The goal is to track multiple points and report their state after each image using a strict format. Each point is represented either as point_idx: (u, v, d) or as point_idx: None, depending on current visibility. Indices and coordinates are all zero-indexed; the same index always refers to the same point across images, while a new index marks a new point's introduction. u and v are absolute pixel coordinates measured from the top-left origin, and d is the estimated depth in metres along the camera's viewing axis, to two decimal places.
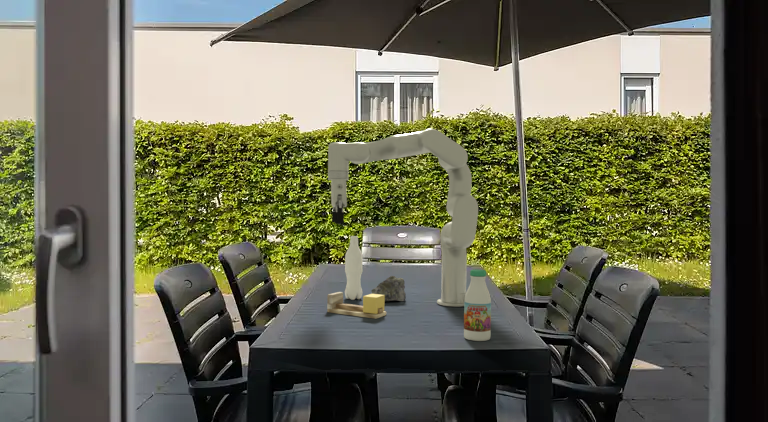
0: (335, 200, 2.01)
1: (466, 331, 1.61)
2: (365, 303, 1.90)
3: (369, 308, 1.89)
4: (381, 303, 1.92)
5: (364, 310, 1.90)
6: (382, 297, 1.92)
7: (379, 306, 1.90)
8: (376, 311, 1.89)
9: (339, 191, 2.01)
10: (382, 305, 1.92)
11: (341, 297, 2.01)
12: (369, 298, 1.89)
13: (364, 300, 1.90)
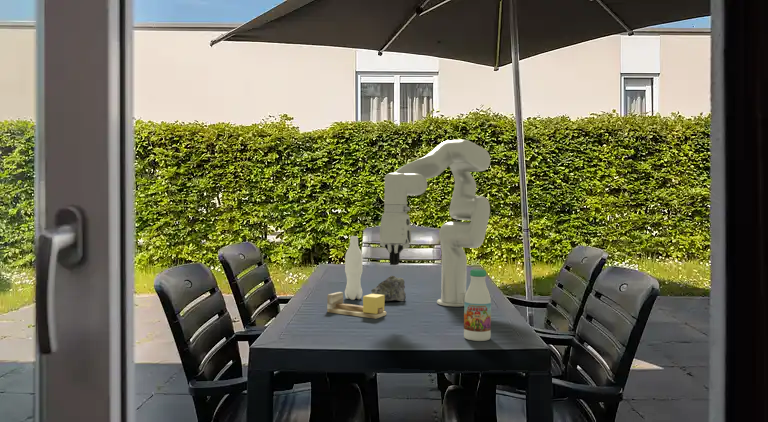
0: (406, 237, 1.84)
1: (466, 331, 1.61)
2: (365, 303, 1.90)
3: (369, 308, 1.89)
4: (381, 303, 1.92)
5: (364, 310, 1.90)
6: (382, 297, 1.92)
7: (379, 306, 1.90)
8: (376, 311, 1.89)
9: (408, 227, 1.85)
10: (382, 305, 1.92)
11: (341, 297, 2.01)
12: (369, 298, 1.89)
13: (364, 300, 1.90)
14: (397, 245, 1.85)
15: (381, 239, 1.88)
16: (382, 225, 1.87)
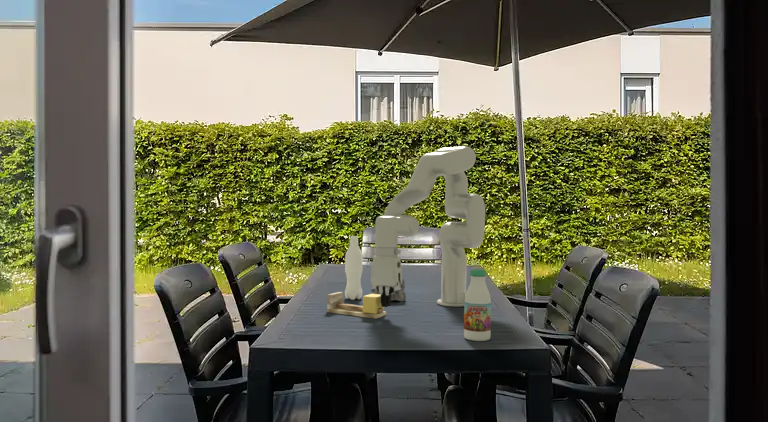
0: (396, 280, 1.86)
1: (466, 331, 1.61)
2: (365, 303, 1.90)
3: (369, 308, 1.90)
4: None
5: (364, 310, 1.91)
6: None
7: (379, 306, 1.91)
8: (376, 311, 1.89)
9: (399, 269, 1.87)
10: None
11: (341, 297, 2.01)
12: (369, 298, 1.89)
13: (364, 300, 1.90)
14: (388, 287, 1.88)
15: (372, 281, 1.90)
16: (373, 267, 1.89)
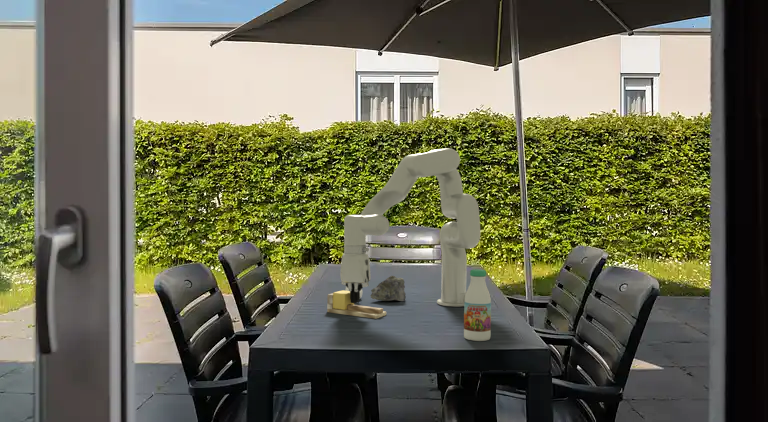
0: (364, 277, 1.92)
1: (466, 331, 1.61)
2: (335, 299, 1.96)
3: (338, 304, 1.96)
4: None
5: (334, 306, 1.97)
6: None
7: (348, 302, 1.97)
8: (345, 307, 1.95)
9: (367, 267, 1.93)
10: None
11: None
12: (338, 294, 1.96)
13: (334, 296, 1.97)
14: (357, 284, 1.94)
15: (342, 278, 1.96)
16: (342, 265, 1.95)
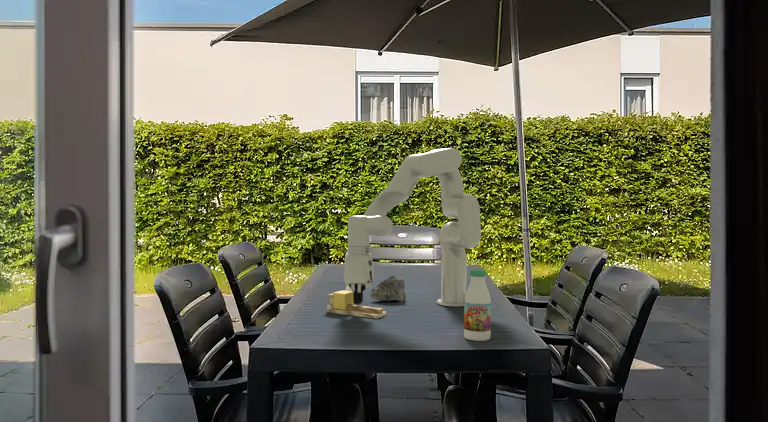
0: (368, 277, 1.91)
1: (466, 331, 1.61)
2: (335, 299, 1.96)
3: (338, 304, 1.96)
4: (350, 299, 1.98)
5: (334, 306, 1.97)
6: (351, 293, 1.98)
7: (348, 302, 1.97)
8: (345, 307, 1.95)
9: (370, 267, 1.92)
10: (351, 301, 1.98)
11: None
12: (338, 294, 1.96)
13: (334, 296, 1.97)
14: (360, 285, 1.93)
15: (345, 279, 1.95)
16: (346, 265, 1.95)
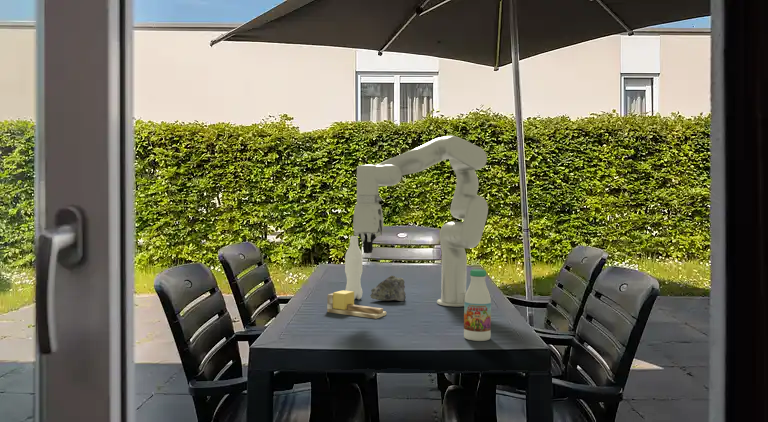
0: (378, 226, 1.91)
1: (466, 331, 1.61)
2: (335, 299, 1.96)
3: (338, 304, 1.96)
4: (350, 299, 1.98)
5: (334, 306, 1.97)
6: (351, 293, 1.98)
7: (348, 302, 1.97)
8: (345, 307, 1.95)
9: (380, 216, 1.93)
10: (351, 301, 1.98)
11: None
12: (338, 294, 1.96)
13: (334, 296, 1.97)
14: (370, 234, 1.93)
15: (355, 229, 1.95)
16: (355, 215, 1.95)
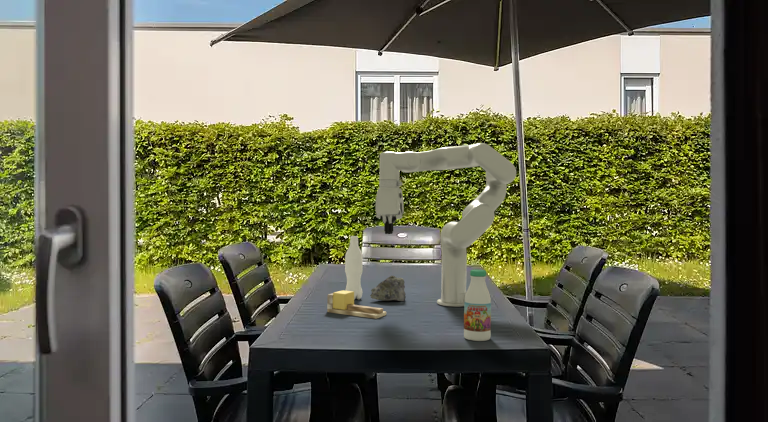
0: (398, 208, 2.06)
1: (466, 331, 1.61)
2: (335, 299, 1.96)
3: (338, 304, 1.96)
4: (350, 299, 1.98)
5: (334, 306, 1.97)
6: (351, 293, 1.98)
7: (348, 302, 1.97)
8: (345, 307, 1.95)
9: (400, 200, 2.08)
10: (351, 301, 1.98)
11: None
12: (338, 294, 1.96)
13: (334, 296, 1.97)
14: (391, 216, 2.08)
15: (377, 211, 2.10)
16: (377, 198, 2.10)
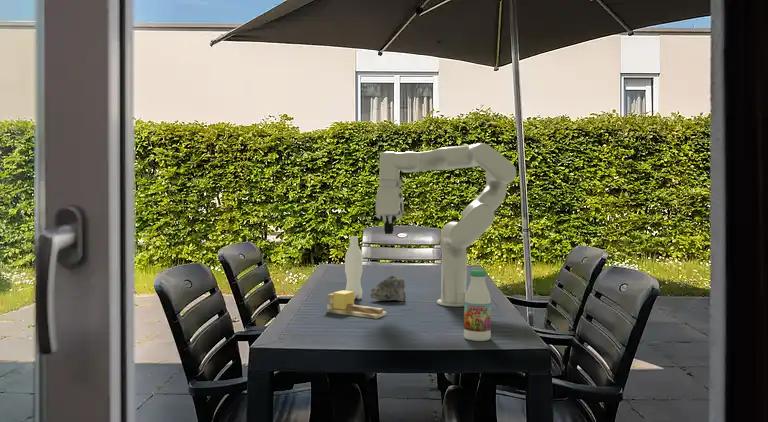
0: (398, 208, 2.06)
1: (466, 331, 1.61)
2: (335, 299, 1.96)
3: (338, 304, 1.96)
4: (350, 299, 1.98)
5: (334, 306, 1.97)
6: (351, 293, 1.98)
7: (348, 302, 1.97)
8: (345, 307, 1.95)
9: (400, 200, 2.08)
10: (351, 301, 1.98)
11: None
12: (338, 294, 1.96)
13: (334, 296, 1.97)
14: (391, 216, 2.08)
15: (377, 211, 2.10)
16: (377, 198, 2.10)
